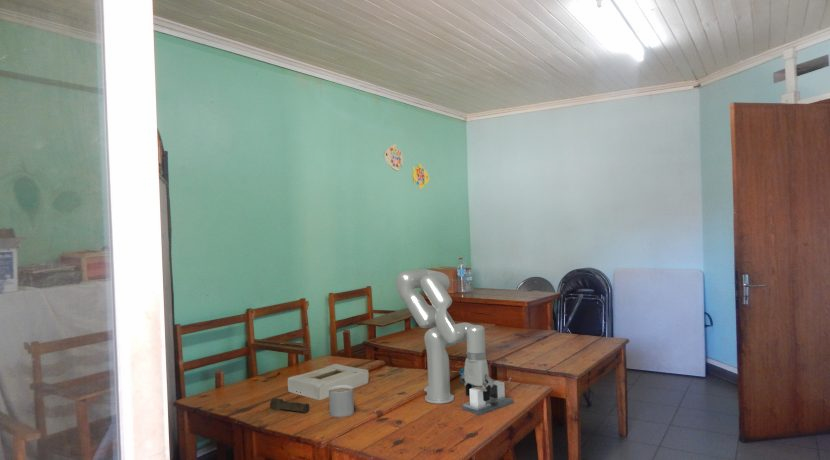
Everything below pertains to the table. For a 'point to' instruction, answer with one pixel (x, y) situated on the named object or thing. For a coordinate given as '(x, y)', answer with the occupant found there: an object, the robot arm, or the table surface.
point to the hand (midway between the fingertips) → (477, 397)
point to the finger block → (477, 397)
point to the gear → (461, 376)
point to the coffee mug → (341, 401)
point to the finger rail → (491, 400)
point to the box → (326, 380)
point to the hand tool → (288, 405)
